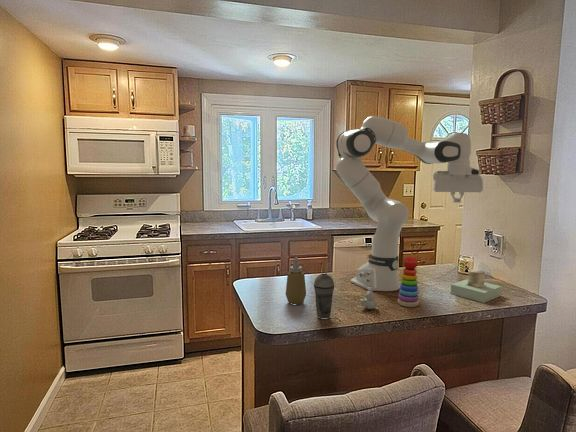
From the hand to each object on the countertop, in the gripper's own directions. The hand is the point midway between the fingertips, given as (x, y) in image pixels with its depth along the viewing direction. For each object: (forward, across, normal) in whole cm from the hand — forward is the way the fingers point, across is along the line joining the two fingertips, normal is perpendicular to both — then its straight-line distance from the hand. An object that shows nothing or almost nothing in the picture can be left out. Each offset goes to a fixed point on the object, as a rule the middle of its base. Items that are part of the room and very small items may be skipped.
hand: (456, 202), depth 173 cm
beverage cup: (+37, -56, -47) cm, 82 cm away
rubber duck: (+37, -40, -37) cm, 66 cm away
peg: (+37, +6, -14) cm, 40 cm away
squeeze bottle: (+37, -67, -34) cm, 84 cm away
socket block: (+37, +6, -14) cm, 40 cm away
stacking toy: (+37, -24, -30) cm, 53 cm away
